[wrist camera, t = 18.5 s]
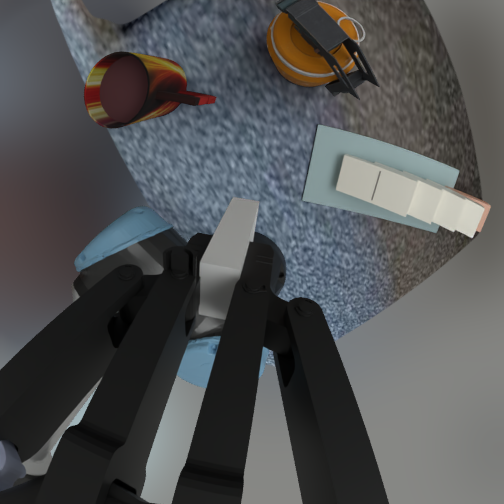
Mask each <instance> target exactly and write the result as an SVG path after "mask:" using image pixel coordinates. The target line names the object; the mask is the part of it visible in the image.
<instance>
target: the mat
mask: <svg viewBox="0 0 504 504" xmlns="http://www.w3.org/2000/svg"><path fill="white" fill-rule="evenodd" d="M345 154H349V155H352V156H355V157H358V158H361V159H364V160H367V161H370V162H373V163H375V162H378V163H381V164H384V165H386V166H389V167H392V168H394V169H397V170H399V171H402V172H403V171H406V172H409V173H411V174H414V175H416V176H418V177H421V178H423V179H425V180H426V179H429V180H432V181H434V182H436V183H438V184H440V185H443V186H445V185H446V186H448V187H451V188H454V185H455V183H456V179H457V176H458V173H459V170H457V169H455V168H453V167H450V166H448V165H446V164H443V163H441V162H438V161H436V160H433V159H431V158H428V157H426V156H423V155H420V154H418V153H415V152H412V151H409V150H407V149H404V148H401V147H398V146H395V145H392V144H389V143H386V142H383V141H379V140H376V139H373V138H369V137H366V136H362V135H359V134H355V133H352V132H348V131H344V130H340V129H336V128H332V127H328V126H323V125H319V124H318V127H317V132H316V137H315V142H314V147H313V152H312V157H311V162H310V166H309V171H308V176H307V180H306V185H305V189H304V194H303V198H302V201H307V202H312V203H316V204H321V205H326V206H331V207H335V208H340V209H344V210H349V211H353V212H357V213H361V214H366V215H370V216H374V217H378V218H382V219H386V220H390V221H394V222H398V223H402V224H405V225H409V226H413V227H416V228H420V229H424V230H427V231H431V232H434V233H437V230H438V228H439V225H438V224H436V223H434V222H431V224H428V223H426V222H424V221H422V220H420V219H417V218H415V217H413V216H410V215H408V214H407V215H406V217H404V216H401V215H399V214H397V213H394V212H392V211H389V210H387V209H384V208H382V207H379V206H377V205H374V204H372V203H369V202H367V201H364V200H361V199H359V198H356V197H353V196H351V195H348V194H345V193H343V192H340V191H337V190H336V186H337V182H338V178H339V174H340V170H341V166H342V162H343V158H344V155H345Z"/></svg>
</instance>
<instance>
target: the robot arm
mask: <svg viewBox="0 0 504 504" xmlns="http://www.w3.org/2000/svg"><path fill="white" fill-rule="evenodd" d="M258 207H259V201H253V200H248V199H242V198H236V197H233V198H232V200H231V202H230V204H229V206H228V208H227V210H226V212H225V214H224V215H223V217H222V219H221V221H220V223H219V225H218V227H217V229H216V231H215V233H214V235H208V234H202V233H197V234H196V235H194V236H192V237H191V238H190V240H189V242H187V241H186V240H185V239H183V238H182V237H181V236H180V235H179V234H178V233H177V232H176V231H175V230H174V229H173V227H174V226H173V225H172V224H168V223H167V222H166V221H165V220H164V219H163V218H162V217H160V216H159V215H158V214H157V213H156V212H155V211H154V210H152V209H151V208H149V207H146V206H139V207H135V208H133V209H131V210H129V211H128V212H126V213H125V214H123V215H122V216H120V217H119V218H118V219H116V220H115V221H114V222H112V223H111V224H110V225H109V226H107V227H106V228H105V229H104V230H103V231H102V232H100V233H99V234H98V235H97V236H96V237H95V238H94V239H93V240H92V241H91V242H90V243H89V244H88V245H87V246H86V247H85V248H84V250H83V251H82V252H81V253H80V254H79V255H78V256H77V258H76V259H75V262H74V265H75V266H76V270H77V271H78V272H81V273H80V275H79V276H78V277H77V278H76V280H75V281H74V282H73V284H72V295H73V303H72V304H71V305H70V306H69V307H67V308H66V309H65V310H64V311H63V312H62V313H61V314H59V315H58V316H57V317H56V318H55V319H54V320H53V321H51V322H50V323H49V324H48V325H47V326H46V327H45V328H44V329H43V330H42V331H40V332H39V333H38V334H37V335H36V336H35V337H34V338H33V339H32V340H31V341H30V342H29V343H27V344H26V345H25V346H24V347H23V348H22V349H21V350H20V351H19V352H18V353H17V354H16V355H15V356H14V357H13V358H12V359H11V360H10V361H9V362H8V363H7V364H6V365H5V366H4V367H3V368H2V369H1V370H0V504H155V503H149V502H147V501H145V500H143V499H142V498H140V496H141V493H142V490H143V486H144V482H145V477H146V464H147V460H148V457H149V454H150V451H151V448H152V445H153V442H154V439H155V436H156V433H157V430H158V427H159V424H160V421H161V418H162V415H163V412H164V410H165V406H166V403H167V401H168V398H169V395H170V392H171V389H172V386H173V384H174V381H175V378H176V375H178V376H179V377H180V378H182V379H183V380H185V381H187V382H189V383H191V384H194V385H197V386H200V387H203V388H206V391H205V395H204V398H203V402H202V406H201V410H200V413H199V417H198V420H197V424H196V427H195V431H194V435H193V439H192V442H191V446H190V450H189V453H188V457H187V460H186V463H185V466H184V467H183V469H182V471H181V473H180V476H179V479H178V482H177V486H176V490H175V493H174V497H173V501H172V504H241V499H242V493H243V485H244V484H243V483H244V479H243V476H244V469H245V463H246V457H247V451H248V445H249V439H250V432H251V426H252V420H253V413H254V406H255V400H256V393H257V386H258V380H259V378H260V377H261V375H262V373H263V371H264V368H265V363H266V358H267V356H268V353H269V350H272V351H273V355H274V360H275V366H276V371H277V375H278V380H279V385H280V390H281V396H282V401H283V406H284V411H285V416H286V421H287V426H288V431H289V436H290V441H291V446H292V451H293V456H294V461H295V466H296V471H297V476H298V481H299V487H300V491H301V497H302V502H303V504H389V502H388V499H387V495H386V492H385V488H384V485H383V482H382V479H381V475H380V472H379V468H378V465H377V462H376V459H375V455H374V452H373V449H372V446H371V443H370V440H369V437H368V434H367V431H366V428H365V425H364V422H363V419H362V416H361V413H360V410H359V407H358V404H357V402H356V399H355V396H354V393H353V390H352V387H351V385H350V382H349V379H348V376H347V374H346V371H345V368H344V366H343V363H342V360H341V358H340V355H339V352H338V350H337V347H336V345H335V342H334V339H333V337H332V334H331V331H330V329H329V326H328V324H327V321H326V319H325V316H324V314H323V311H322V309H321V307H320V306H319V305H318V304H317V303H316V302H315V301H313V300H310V299H308V298H302V297H299V298H294V299H292V300H290V301H289V302H287V301H285V300H283V299H281V298H279V297H277V296H278V295H279V293H280V291H281V290H282V288H283V286H284V283H285V279H286V262H285V258H284V256H283V254H282V252H281V250H280V249H279V248H278V246H277V245H276V244H275V243H274V242H273V241H271V240H270V239H269V238H267V237H266V236H264V235H262V234H259V233H257V232H255V226H256V220H257V213H258ZM97 386H98V387H97ZM96 388H97V389H96ZM95 389H96V391H95V393H94V395H93V397H92V399H91V401H90V403H89V405H88V407H87V409H86V411H85V414H84V416H83V418H82V420H81V421H80V423H79V424H78V425H75V426H71V427H69V428H68V429H67V430H66V428H67V427H68V426H69V424H70V423H71V421H72V420H73V419H74V417H75V416H76V415H77V413H78V412H79V410H80V409H81V408H82V406H83V405H84V404H85V402H86V401H87V400H88V398H89V397H90V396H91V394H92V393H93V392H94V390H95ZM64 431H65V432H64ZM63 433H64V434H63ZM62 434H63V435H62ZM61 435H62V438H61V439H60V442H59V444H58V446H57V448H56V451H55V453H54V455H53V458H52V456H51V453H50V451H51V450H52V448H53V447H54V445H55V444H56V442H57V441H58V440H59V438H60V437H61Z"/></svg>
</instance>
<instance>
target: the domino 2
mask: <svg viewBox="0 0 504 504" xmlns="http://www.w3.org/2000/svg"><path fill="white" fill-rule="evenodd" d="M375 164H378V165H381V166H384V167H386V168H389V169H392V170H394V171H397V172H399V173H402V174H404V175H407V176H409V177H412V178H414V179H417V180H418V183H417V186H416V189H415V192H414V195H413V198H412V201H411V204H410V207H409V210H408V212H407V214H408V215H410V216H413V217H415V218H417V219H420V220H422V221H424V222H426V223H428V224H431V222H432V220H433V217H434V214H435V212H436V209H437V207H438V204H439V201H440V198H441V196H442V193H443V190H442V188H439V187H437V186H435V185H433V184H430V183H428V182H426V181H424V180H421V179H419V178H417V177H414V176H412V175H409V174H407V173H404V172H402V171H399V170H397V169H394V168H392V167H389V166H386V165H384V164H381V163H378V162H375Z"/></svg>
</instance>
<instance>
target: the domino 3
mask: <svg viewBox="0 0 504 504" xmlns="http://www.w3.org/2000/svg"><path fill="white" fill-rule="evenodd" d="M403 172H404V173H407V174H409V175H412V176H414V177H417V178H419V179H421V180H424V181H426V182H428V183H430V184H433V185H435V186H437V187H439V188H442V190H443V193H442V196H441V198H440V201H439V204H438V207H437V209H436V212H435V214H434V217H433V220H432V222H434V223H436V224H438V225H440V226H442V227H444V228H447V229H449V230H451V231H453V232H454V231H455V228H456V226H457V224H458V221H459V219H460V216H461V214H462V211H463V209H464V206H465V203H466V199H465V198H464V197H462V196H460V195H458V194H456V193H454V192H452V191H450V190H447V189H445V188H443V187H441V186H439V185H437V184H434V183H432V182H430V181H428V180H425V179H423V178H421V177H418V176H416V175H414V174H411V173H409V172H406V171H403Z"/></svg>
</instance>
